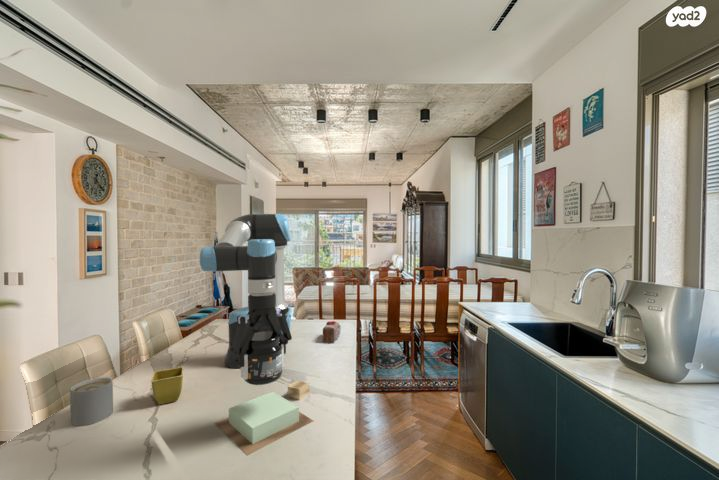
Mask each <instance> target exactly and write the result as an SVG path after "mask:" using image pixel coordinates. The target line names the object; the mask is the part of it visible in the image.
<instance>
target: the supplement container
mask: <svg viewBox="0 0 719 480" xmlns="http://www.w3.org/2000/svg"><path fill="white" fill-rule="evenodd" d="M245 354H247V355H248V379H246V380H245V379H243V380H244V381H245V382H246V383H247V384H249V385H251V386H264V385H268V384H272V383H274V382H277V381H278V380H279V379H280V378H281V377H282V375H283V367H282V345H281V344H280V334H279V333H278V334H277V333H274V332H258V333H255V334H254V336H253V338H252V340H250V341H249V346H248V348H247V350H246V352H245Z"/></svg>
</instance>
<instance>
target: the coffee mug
mask: <svg viewBox="0 0 719 480" xmlns="http://www.w3.org/2000/svg"><path fill="white" fill-rule="evenodd" d="M113 384H114V383H113V378H112V377H108V376H103V377H96V378H91V379H86V380H83V381H81V382H80V381H79V382H78V383H76V384H74V385H73V386H71V387H70V389H69V395H70V398H69V399H70V400H69V401H70V405H69V407H70V425H71V426H74V427H84V426H90V425H93V424H96V423H99V422H101V421H104V420H106V419H107V418H109V417H110V416H112V414H114V413H113V412H114V393H113V392H114V389H113V387H114V385H113Z"/></svg>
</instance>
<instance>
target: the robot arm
mask: <svg viewBox="0 0 719 480" xmlns="http://www.w3.org/2000/svg"><path fill="white" fill-rule="evenodd" d="M288 221H289V220H288V217H287V215H285V214H279V213H278V214H277V213H263V214H262V213H261V214H259V213H258V214H256V213H252V214H251V213H250V214H249V213H248V214H244V215H241V216H239V217H236V218H234V219H233V220H231V221H230V222H229V223H228V224H227V225H226V227H225V229H224V234H223V235H222V236H221V238H220V239H219V240H218V242H217V243H216V244H215V246H212V245H211V246H204V247H202V248H201V250H200V252H199V253H200V254H199V266H200V269H201V270H202V271H204V272H214V273H216V272H228V271H229V272H233V271H247V293H248V294H249V295H248V296H247V306H245V307H240V308H237V309H234V310H232V311H231V312H230V313H229V315H228V321H227V325H228V348H227V350H226V351H227V352H226V354H225V358H224V365H225V367H227V368H230V369H240V377H241V378H242V379H243V380H244V379H245V380H246V379H248V355H247V354H245V352H246V350H247V348H248V346H249V341H250V340H252V338H253V336H254V334H255V333H258V332H274V333H277V334H278V333H279V334H280V342H279V343H280V344H281V345H282V368H284V367H285V355H286V354H287V345H288V343H289V341H291V340H292V339H293V337H292V334H291V330H290V328H291V321H292V308H291V307H289V304H288V303H287V302H286V300H285V297H286V296H285V295H286V293H285V256H284V255H285V252H284V251H285V250H284V249H286V247H287V246H288V242H290V241H291V233H290V232H291V231H290V226H289V222H288ZM246 242H247V245H244V243H246ZM245 380H244V381H245Z"/></svg>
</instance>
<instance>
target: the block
mask: <svg viewBox="0 0 719 480" xmlns="http://www.w3.org/2000/svg"><path fill="white" fill-rule="evenodd" d="M309 394H310V383H308V382H305V381H301V380H296V381H294V382H293V383H291V384H289V385H288V386H287V398H290V399H291V398H292V399H294V400H298V401H301V400H302V399H304V398H305V397H307V396H308V395H309Z"/></svg>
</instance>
